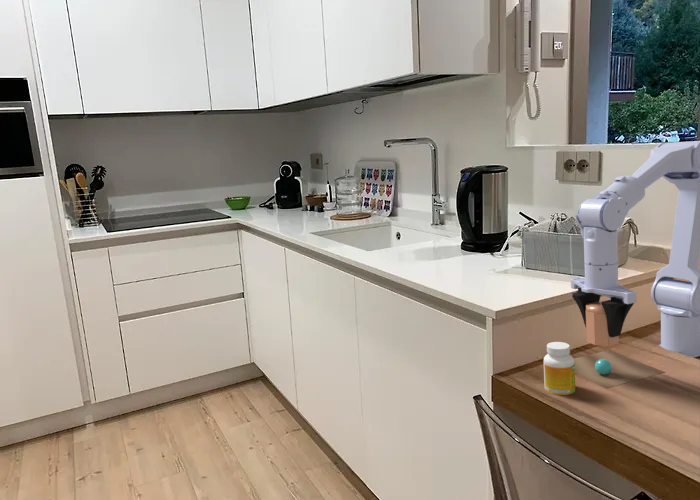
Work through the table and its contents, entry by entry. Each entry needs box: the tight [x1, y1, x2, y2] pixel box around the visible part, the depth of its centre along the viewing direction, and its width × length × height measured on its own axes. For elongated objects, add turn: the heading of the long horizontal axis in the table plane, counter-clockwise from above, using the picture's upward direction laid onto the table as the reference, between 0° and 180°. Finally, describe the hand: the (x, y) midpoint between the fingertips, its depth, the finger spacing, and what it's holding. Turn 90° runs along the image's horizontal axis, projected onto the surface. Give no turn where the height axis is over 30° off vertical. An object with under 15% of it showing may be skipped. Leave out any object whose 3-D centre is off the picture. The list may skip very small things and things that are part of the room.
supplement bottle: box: [543, 341, 576, 396], centre depth 99 cm, size 5×5×10 cm
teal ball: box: [595, 359, 612, 375], centre depth 104 cm, size 3×3×3 cm
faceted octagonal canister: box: [585, 301, 620, 347], centre depth 102 cm, size 6×6×7 cm
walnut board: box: [573, 349, 666, 389], centre depth 107 cm, size 14×14×1 cm
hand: (602, 331), depth 103 cm, fingers closed on faceted octagonal canister, 5 cm apart
